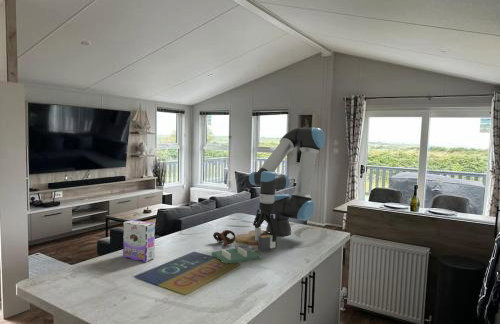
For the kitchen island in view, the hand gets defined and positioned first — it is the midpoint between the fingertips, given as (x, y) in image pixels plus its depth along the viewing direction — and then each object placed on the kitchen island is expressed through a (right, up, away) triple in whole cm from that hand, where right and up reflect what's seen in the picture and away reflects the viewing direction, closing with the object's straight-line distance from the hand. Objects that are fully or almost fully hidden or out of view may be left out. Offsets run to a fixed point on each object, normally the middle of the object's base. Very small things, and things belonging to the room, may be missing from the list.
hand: (264, 244), depth 170 cm
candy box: (-58, -2, -17) cm, 61 cm away
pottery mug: (-21, -2, +8) cm, 23 cm away
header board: (-14, -3, -10) cm, 18 cm away
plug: (0, -3, +1) cm, 3 cm away
